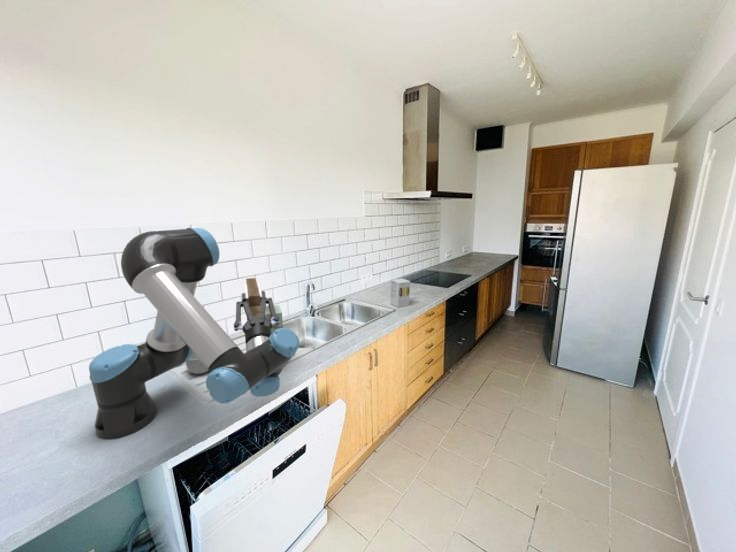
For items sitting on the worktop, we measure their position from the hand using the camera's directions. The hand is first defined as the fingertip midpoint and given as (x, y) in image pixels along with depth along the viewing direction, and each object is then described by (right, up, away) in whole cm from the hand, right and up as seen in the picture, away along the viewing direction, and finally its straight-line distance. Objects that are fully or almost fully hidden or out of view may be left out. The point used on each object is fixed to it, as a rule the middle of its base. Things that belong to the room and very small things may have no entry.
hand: (252, 286), depth 102 cm
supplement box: (+61, -16, +97) cm, 115 cm away
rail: (-2, -3, +5) cm, 6 cm away
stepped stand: (-3, -34, +24) cm, 41 cm away
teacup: (-28, -35, +21) cm, 49 cm away
